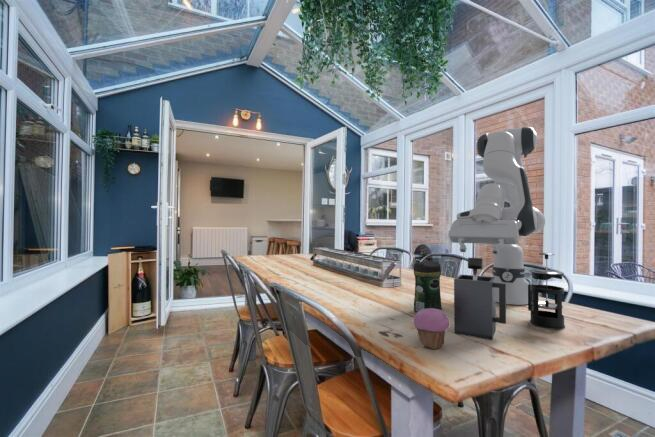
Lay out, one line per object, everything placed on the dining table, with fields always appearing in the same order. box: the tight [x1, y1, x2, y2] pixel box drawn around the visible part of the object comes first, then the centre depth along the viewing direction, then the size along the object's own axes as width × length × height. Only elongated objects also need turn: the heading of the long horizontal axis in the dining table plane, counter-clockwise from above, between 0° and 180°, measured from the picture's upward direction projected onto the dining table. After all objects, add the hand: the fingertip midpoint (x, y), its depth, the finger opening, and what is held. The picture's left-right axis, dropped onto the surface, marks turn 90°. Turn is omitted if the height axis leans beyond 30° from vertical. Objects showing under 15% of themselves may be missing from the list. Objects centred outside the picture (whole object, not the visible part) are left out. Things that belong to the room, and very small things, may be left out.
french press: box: [527, 252, 566, 330], centre depth 103 cm, size 12×9×23 cm
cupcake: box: [413, 308, 450, 350], centre depth 84 cm, size 9×9×10 cm
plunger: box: [467, 257, 483, 280], centre depth 95 cm, size 8×8×16 cm
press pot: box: [453, 273, 507, 341], centre depth 95 cm, size 10×13×16 cm
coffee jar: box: [413, 260, 443, 313], centre depth 117 cm, size 10×8×19 cm
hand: (478, 251), depth 98 cm, fingers open, 8 cm apart
